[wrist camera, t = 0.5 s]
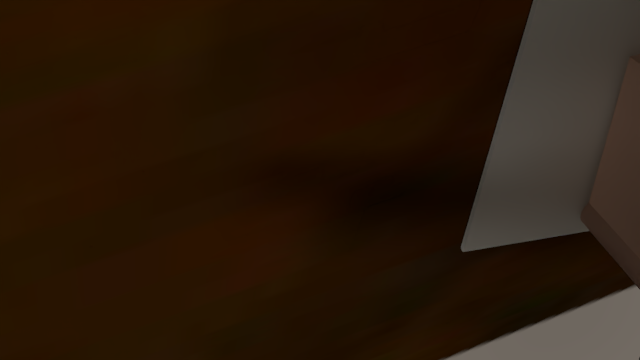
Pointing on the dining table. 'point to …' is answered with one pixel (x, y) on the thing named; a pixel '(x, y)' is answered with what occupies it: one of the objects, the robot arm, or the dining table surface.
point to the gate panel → (620, 181)
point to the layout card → (554, 121)
